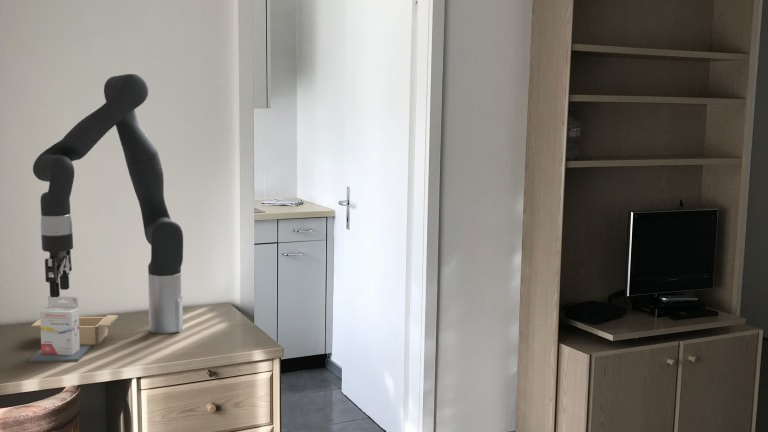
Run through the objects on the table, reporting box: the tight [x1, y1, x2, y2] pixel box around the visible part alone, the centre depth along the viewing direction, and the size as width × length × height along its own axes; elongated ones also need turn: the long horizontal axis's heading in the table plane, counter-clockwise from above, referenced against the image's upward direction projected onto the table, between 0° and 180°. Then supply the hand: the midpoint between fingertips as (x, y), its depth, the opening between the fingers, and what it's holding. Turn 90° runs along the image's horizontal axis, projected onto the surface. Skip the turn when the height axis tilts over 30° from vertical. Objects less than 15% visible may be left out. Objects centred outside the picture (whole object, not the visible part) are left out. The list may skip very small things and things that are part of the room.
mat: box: [29, 345, 92, 363], centre depth 208 cm, size 12×12×1 cm
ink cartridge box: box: [39, 295, 80, 355], centre depth 207 cm, size 9×5×15 cm, turn 88°
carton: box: [31, 314, 119, 346], centre depth 222 cm, size 21×11×6 cm, turn 96°
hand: (60, 293), depth 206 cm, fingers open, 8 cm apart
